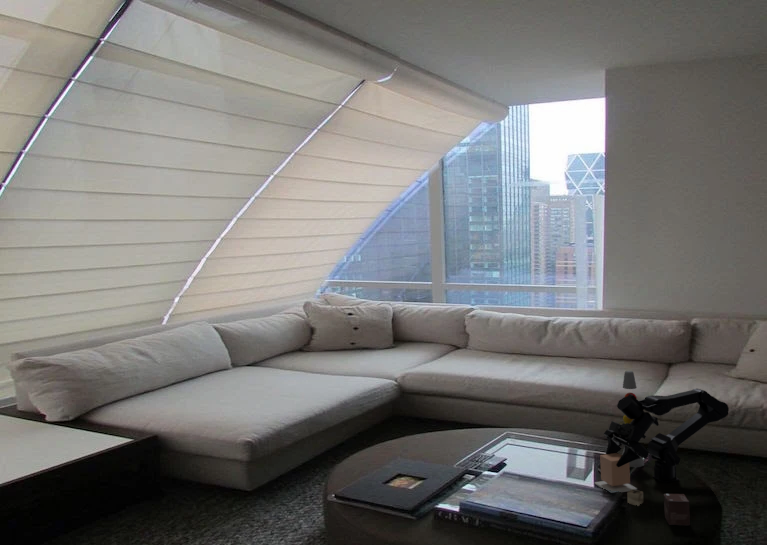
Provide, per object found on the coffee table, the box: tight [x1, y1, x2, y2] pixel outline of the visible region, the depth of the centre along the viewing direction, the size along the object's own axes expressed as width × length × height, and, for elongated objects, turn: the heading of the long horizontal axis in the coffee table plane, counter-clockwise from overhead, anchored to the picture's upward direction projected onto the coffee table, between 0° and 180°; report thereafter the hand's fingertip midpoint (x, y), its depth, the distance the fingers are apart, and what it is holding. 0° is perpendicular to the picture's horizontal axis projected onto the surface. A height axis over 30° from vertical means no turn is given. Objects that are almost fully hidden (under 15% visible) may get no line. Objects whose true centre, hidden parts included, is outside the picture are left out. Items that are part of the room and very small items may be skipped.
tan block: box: [599, 452, 631, 486], centre depth 226 cm, size 7×7×8 cm
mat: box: [593, 480, 638, 493], centre depth 226 cm, size 10×10×1 cm
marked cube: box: [626, 489, 644, 507], centre depth 212 cm, size 4×4×4 cm
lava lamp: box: [618, 370, 645, 468], centre depth 247 cm, size 9×9×35 cm
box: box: [663, 493, 691, 526], centre depth 197 cm, size 6×6×7 cm
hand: (611, 462), depth 225 cm, fingers closed on tan block, 7 cm apart
